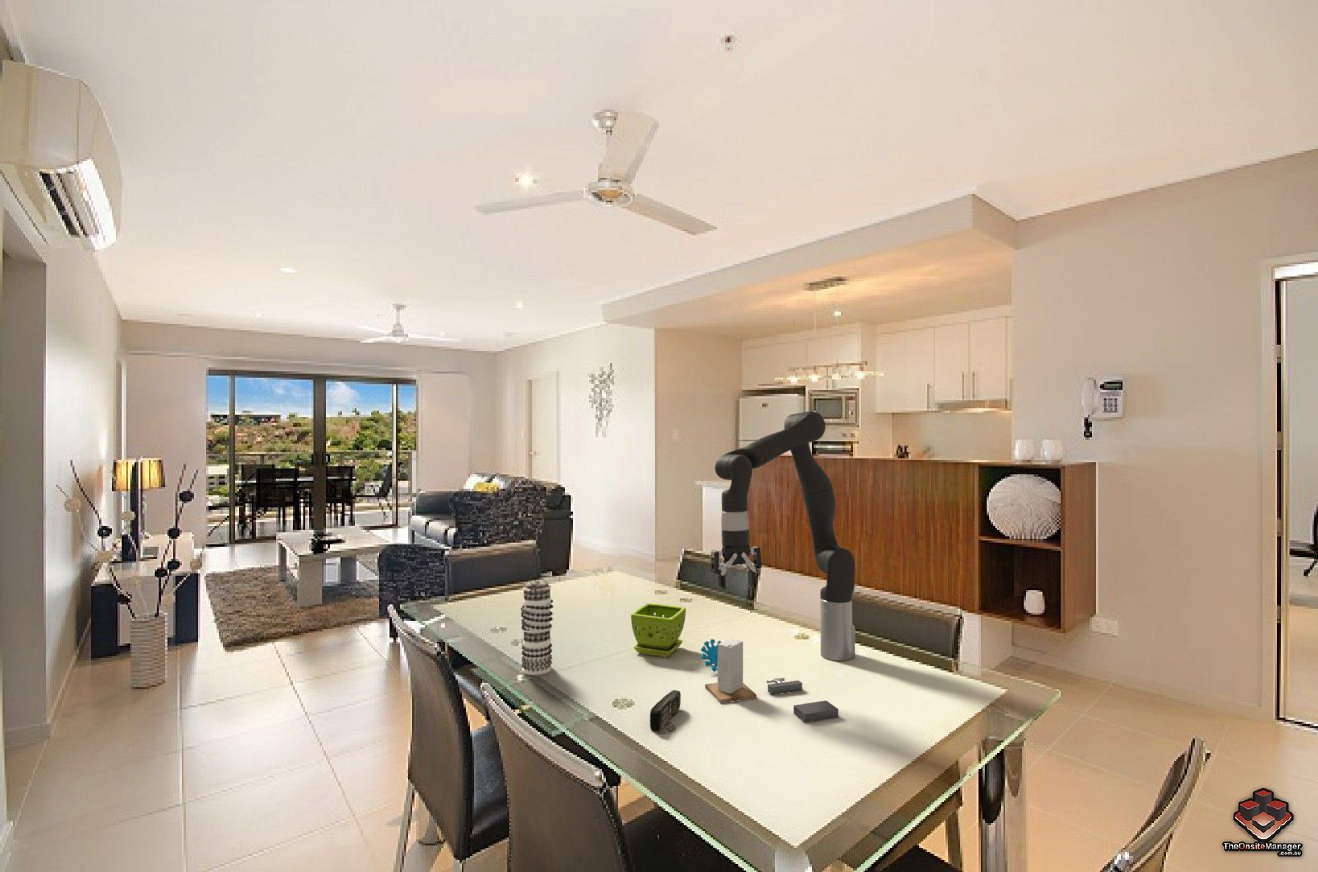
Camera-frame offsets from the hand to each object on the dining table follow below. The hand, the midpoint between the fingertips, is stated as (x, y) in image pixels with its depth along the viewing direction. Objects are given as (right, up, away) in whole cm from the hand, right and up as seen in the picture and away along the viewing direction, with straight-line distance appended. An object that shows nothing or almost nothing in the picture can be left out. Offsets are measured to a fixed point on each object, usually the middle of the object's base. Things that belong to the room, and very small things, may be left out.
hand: (737, 586), depth 162 cm
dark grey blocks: (+13, -25, -14) cm, 32 cm away
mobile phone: (-19, -26, -22) cm, 39 cm away
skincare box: (-3, -25, -8) cm, 26 cm away
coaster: (-3, -25, -8) cm, 27 cm away
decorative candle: (-56, -26, +8) cm, 63 cm away
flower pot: (-21, -26, +24) cm, 41 cm away
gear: (-4, -26, +9) cm, 28 cm away
